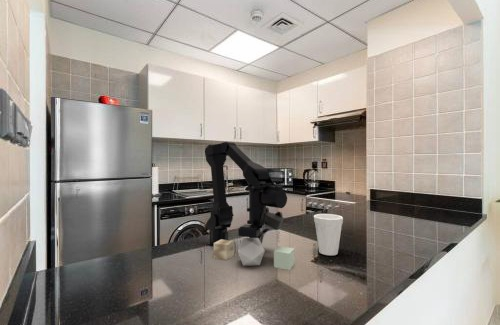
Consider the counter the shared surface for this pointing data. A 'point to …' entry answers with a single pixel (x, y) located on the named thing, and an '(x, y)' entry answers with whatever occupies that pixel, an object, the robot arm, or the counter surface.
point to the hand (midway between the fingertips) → (258, 251)
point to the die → (251, 251)
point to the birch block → (223, 249)
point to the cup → (328, 232)
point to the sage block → (284, 258)
